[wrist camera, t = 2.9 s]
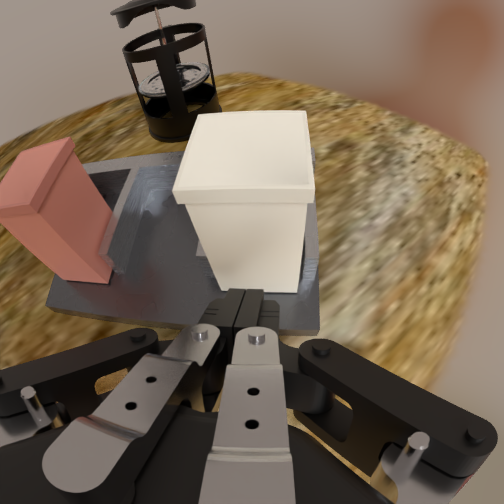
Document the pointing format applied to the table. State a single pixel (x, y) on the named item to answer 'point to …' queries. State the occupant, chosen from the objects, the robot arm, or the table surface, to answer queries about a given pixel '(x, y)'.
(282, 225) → the white tall block
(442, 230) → the table surface
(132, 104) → the table surface
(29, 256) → the table surface
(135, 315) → the dark grey tray
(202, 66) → the french press
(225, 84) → the table surface
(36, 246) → the pink boxy piece
